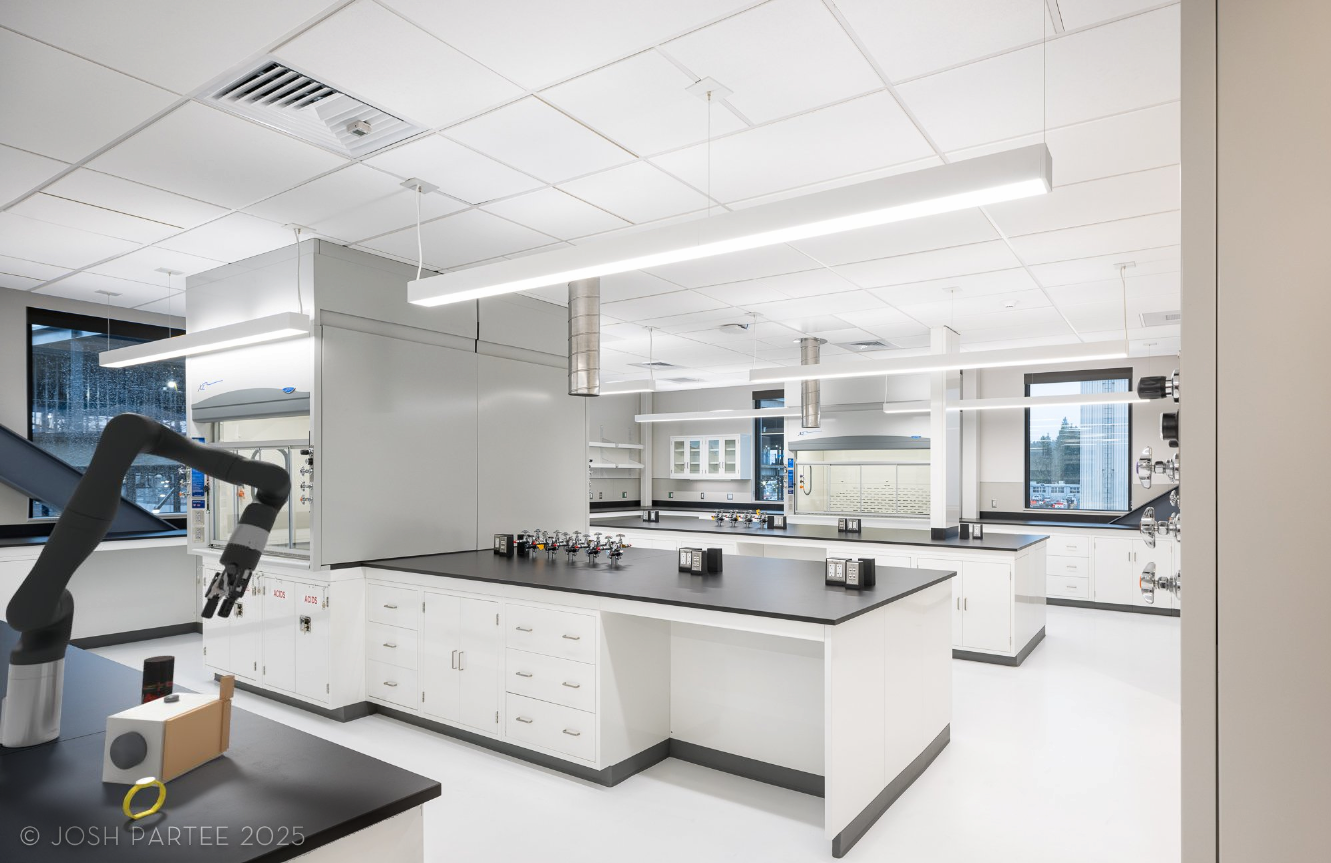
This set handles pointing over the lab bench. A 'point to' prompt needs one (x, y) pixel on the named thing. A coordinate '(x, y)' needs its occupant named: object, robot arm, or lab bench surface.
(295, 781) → the lab bench surface
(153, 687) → the deodorant
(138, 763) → the box
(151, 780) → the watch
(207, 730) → the side door
